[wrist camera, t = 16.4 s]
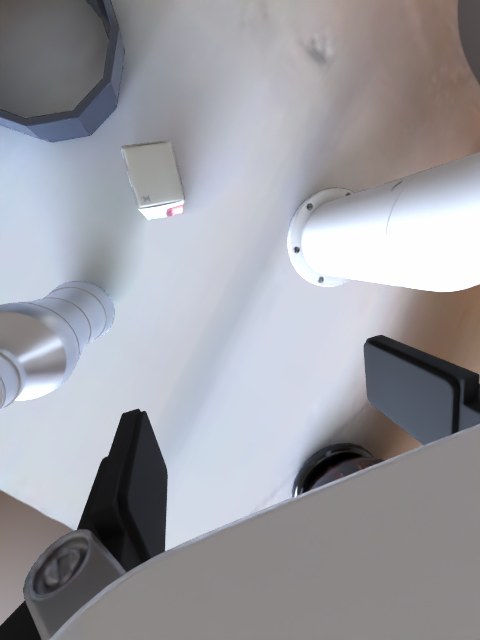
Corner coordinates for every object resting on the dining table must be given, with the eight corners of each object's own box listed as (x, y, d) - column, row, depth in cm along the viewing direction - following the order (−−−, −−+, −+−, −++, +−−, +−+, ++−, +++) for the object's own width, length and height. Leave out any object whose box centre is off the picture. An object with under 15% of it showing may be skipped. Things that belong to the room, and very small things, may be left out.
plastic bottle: (92, 267, 30) (-46, 294, 11) (130, 314, 32) (68, 401, 14) (43, 299, 30) (-182, 380, 11) (86, 344, 32) (-42, 475, 13)
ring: (89, -64, 24) (67, -143, 19) (148, 130, 28) (142, 106, 24) (-107, -51, 21) (-187, -136, 17) (-8, 159, 26) (-49, 139, 21)
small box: (184, 214, 31) (186, 202, 24) (147, 220, 30) (137, 210, 23) (172, 166, 30) (171, 138, 22) (133, 172, 29) (119, 145, 21)
